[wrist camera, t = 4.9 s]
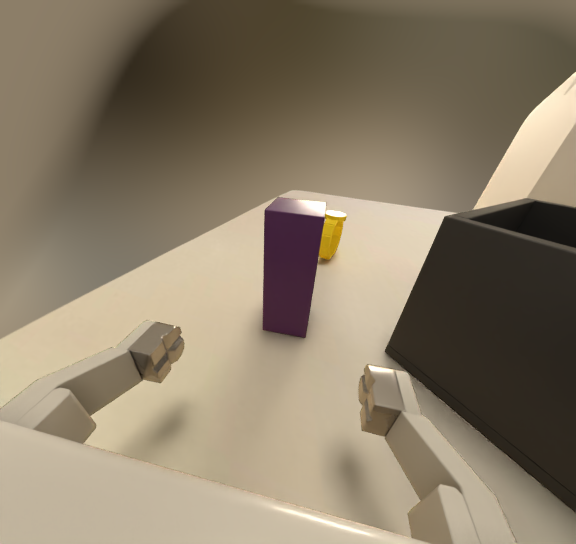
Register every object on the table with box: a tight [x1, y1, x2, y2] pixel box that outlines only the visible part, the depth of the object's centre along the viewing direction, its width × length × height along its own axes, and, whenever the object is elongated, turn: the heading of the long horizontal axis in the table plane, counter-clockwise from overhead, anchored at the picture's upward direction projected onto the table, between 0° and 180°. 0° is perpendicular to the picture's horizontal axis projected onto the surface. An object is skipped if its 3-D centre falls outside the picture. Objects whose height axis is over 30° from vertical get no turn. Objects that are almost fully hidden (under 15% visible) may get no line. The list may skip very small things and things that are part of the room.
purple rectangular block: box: [263, 197, 326, 338], centre depth 17 cm, size 4×4×10 cm
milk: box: [473, 72, 576, 210], centre depth 27 cm, size 12×12×26 cm
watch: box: [319, 211, 346, 260], centre depth 30 cm, size 6×3×6 cm, turn 153°
